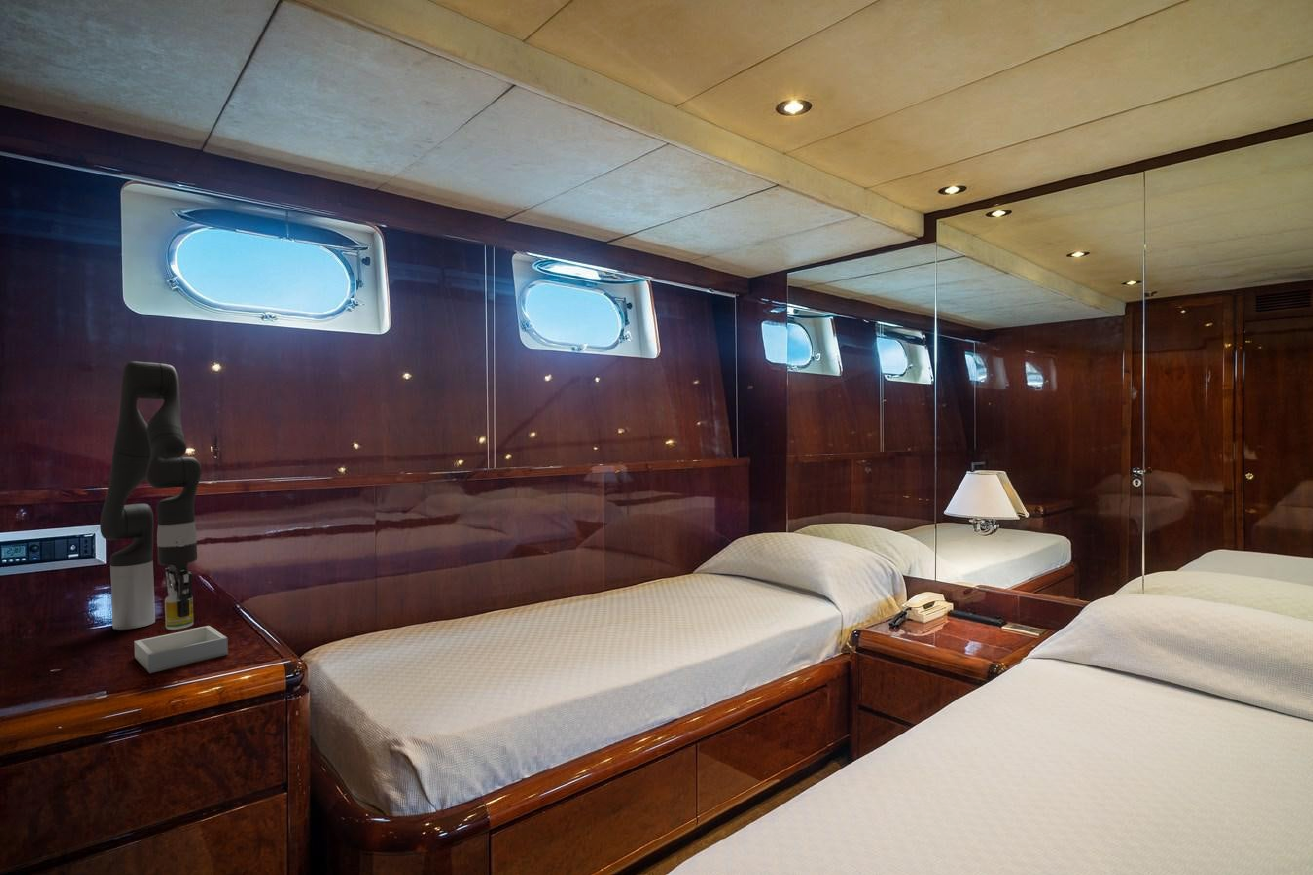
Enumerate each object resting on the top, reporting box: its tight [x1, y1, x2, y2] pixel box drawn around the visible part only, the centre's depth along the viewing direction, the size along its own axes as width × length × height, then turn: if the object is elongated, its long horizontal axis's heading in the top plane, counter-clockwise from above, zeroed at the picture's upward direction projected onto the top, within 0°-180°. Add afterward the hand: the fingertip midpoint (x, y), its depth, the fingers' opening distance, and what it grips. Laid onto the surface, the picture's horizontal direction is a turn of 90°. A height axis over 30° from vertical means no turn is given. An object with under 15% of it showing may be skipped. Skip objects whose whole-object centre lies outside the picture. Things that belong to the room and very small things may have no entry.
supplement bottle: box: [164, 586, 195, 631], centre depth 157 cm, size 5×5×10 cm
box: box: [134, 625, 229, 674], centre depth 157 cm, size 15×15×4 cm
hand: (180, 613), depth 157 cm, fingers closed on supplement bottle, 5 cm apart
